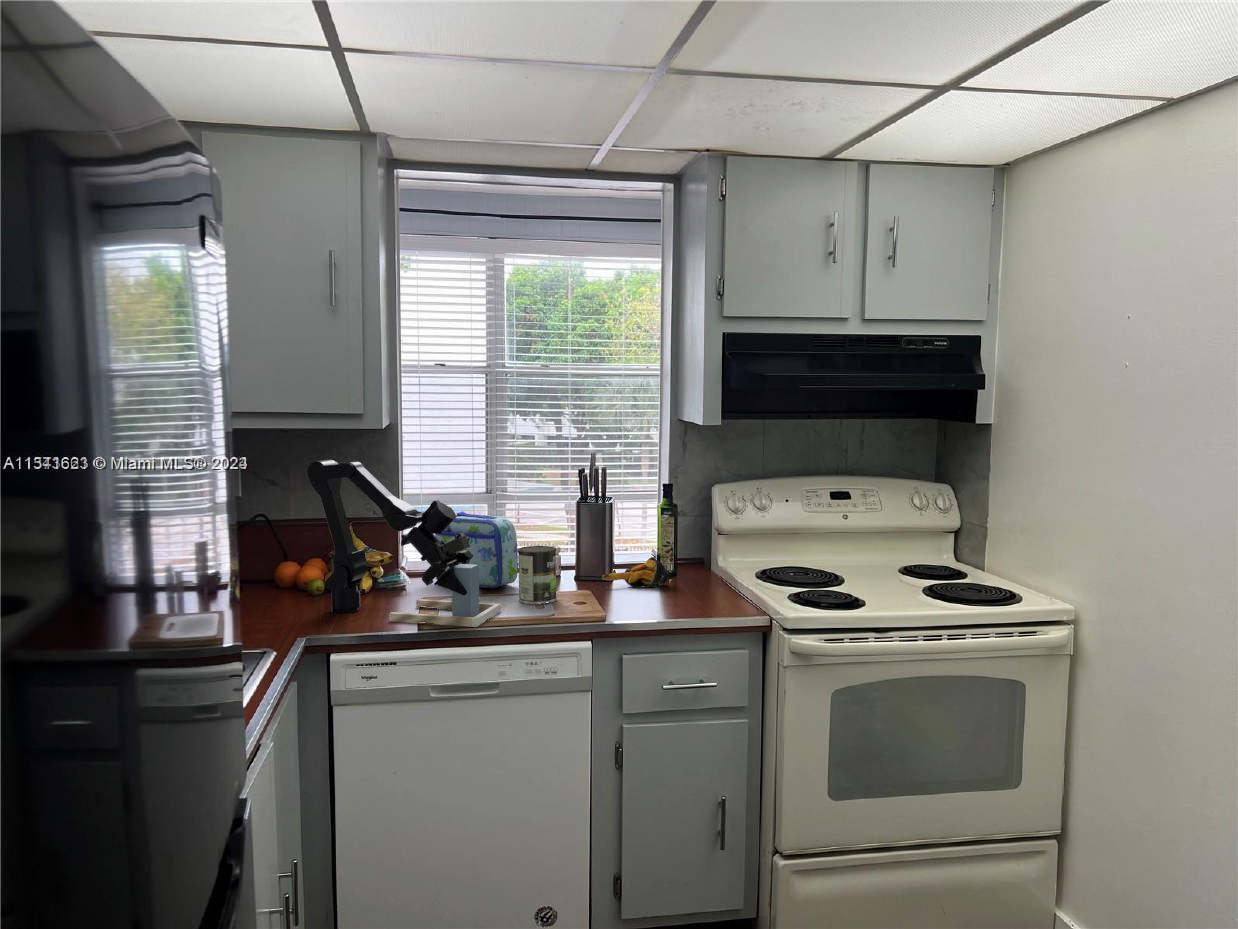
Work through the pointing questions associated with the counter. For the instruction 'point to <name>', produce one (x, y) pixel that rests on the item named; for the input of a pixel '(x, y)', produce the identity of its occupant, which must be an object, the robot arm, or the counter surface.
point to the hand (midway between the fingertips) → (470, 591)
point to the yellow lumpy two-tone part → (642, 574)
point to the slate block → (470, 582)
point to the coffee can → (537, 574)
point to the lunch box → (487, 546)
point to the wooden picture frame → (485, 608)
